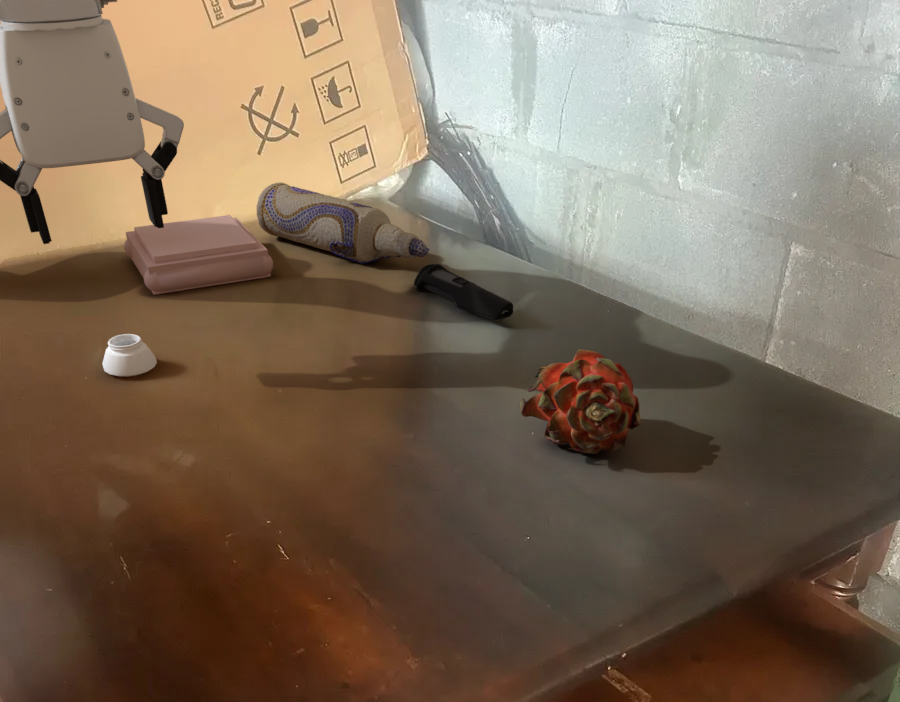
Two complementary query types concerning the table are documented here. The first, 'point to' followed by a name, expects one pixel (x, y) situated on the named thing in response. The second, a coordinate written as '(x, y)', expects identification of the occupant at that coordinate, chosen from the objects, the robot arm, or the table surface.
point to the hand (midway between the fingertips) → (102, 231)
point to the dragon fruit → (585, 403)
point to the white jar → (128, 356)
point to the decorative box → (197, 254)
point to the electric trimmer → (463, 292)
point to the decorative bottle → (334, 225)
